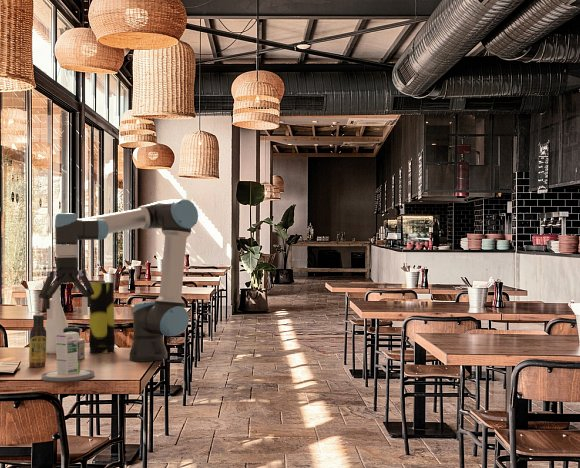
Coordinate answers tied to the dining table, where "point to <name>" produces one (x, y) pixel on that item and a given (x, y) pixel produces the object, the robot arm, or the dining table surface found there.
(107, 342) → the container
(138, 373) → the dining table surface
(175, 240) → the robot arm
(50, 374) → the dish
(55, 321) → the wine bottle
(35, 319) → the sauce bottle
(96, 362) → the dining table surface
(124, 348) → the dining table surface
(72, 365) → the syrup box
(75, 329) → the container
